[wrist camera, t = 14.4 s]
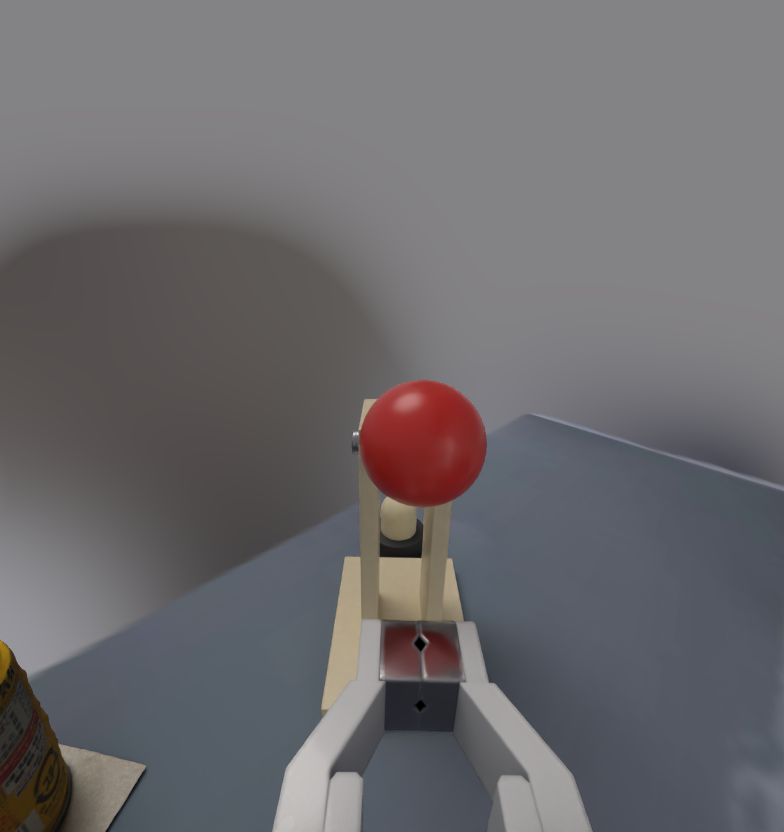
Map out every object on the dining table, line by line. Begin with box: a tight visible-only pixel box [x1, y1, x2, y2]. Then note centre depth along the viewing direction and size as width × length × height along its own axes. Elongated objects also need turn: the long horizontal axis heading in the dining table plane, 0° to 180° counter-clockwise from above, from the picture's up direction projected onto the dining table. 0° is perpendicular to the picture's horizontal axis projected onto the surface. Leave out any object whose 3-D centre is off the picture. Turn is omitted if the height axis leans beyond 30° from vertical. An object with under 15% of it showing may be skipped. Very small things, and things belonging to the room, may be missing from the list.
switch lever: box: [359, 380, 487, 507], centre depth 17 cm, size 14×4×4 cm, turn 0°
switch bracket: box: [321, 399, 464, 718], centre depth 25 cm, size 12×9×17 cm
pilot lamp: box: [380, 496, 424, 558], centre depth 35 cm, size 5×5×5 cm
